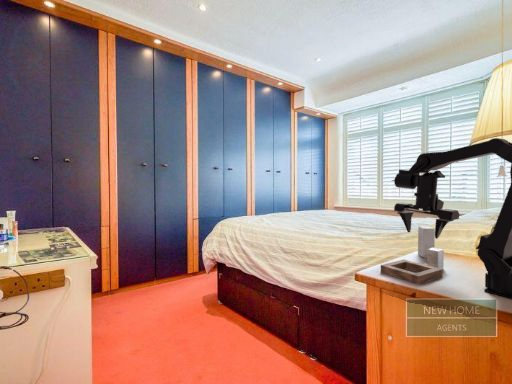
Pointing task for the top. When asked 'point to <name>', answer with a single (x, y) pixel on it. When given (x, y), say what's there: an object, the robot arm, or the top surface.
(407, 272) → the square wooden frame
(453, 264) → the top surface
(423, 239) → the skincare box
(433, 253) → the steel square peg
